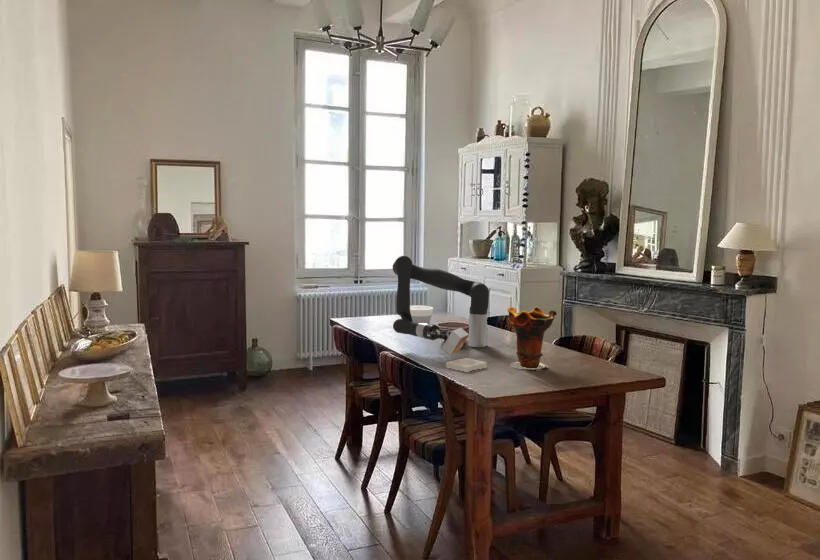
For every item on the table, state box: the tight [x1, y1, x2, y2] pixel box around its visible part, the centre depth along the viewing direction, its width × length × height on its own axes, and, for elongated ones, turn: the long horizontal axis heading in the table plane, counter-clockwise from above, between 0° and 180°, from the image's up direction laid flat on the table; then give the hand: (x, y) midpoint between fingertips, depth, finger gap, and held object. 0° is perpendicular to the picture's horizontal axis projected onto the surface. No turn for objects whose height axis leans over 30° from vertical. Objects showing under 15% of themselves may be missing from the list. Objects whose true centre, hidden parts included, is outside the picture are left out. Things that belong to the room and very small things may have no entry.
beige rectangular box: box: [445, 357, 488, 373], centre depth 295 cm, size 14×12×2 cm
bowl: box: [410, 304, 434, 324], centre depth 403 cm, size 19×19×11 cm
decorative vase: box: [507, 306, 558, 371], centre depth 300 cm, size 21×23×28 cm
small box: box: [442, 327, 469, 355], centre depth 305 cm, size 8×6×10 cm
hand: (453, 336), depth 305 cm, fingers closed on small box, 8 cm apart
